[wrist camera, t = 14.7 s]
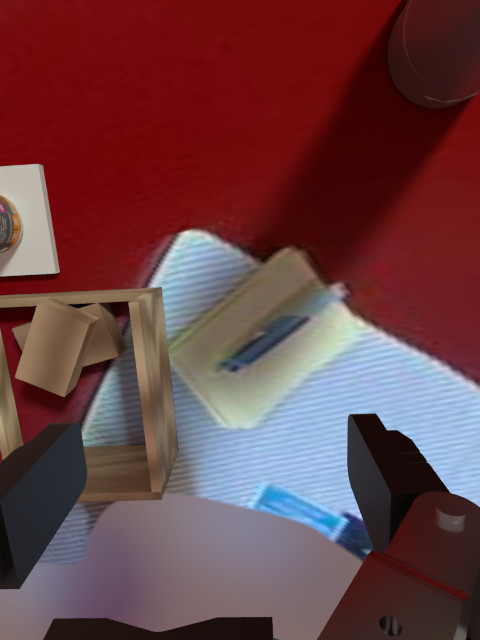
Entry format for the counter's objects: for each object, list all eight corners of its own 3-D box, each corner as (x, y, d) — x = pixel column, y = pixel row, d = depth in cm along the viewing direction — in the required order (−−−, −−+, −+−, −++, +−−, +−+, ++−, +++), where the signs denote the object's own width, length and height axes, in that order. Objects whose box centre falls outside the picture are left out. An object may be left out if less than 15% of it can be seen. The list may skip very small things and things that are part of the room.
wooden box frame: (-15, 296, 40) (-80, 313, 32) (161, 287, 39) (138, 302, 31) (18, 455, 44) (-33, 504, 36) (178, 450, 43) (161, 499, 35)
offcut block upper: (29, 367, 39) (14, 377, 37) (51, 298, 37) (37, 303, 35) (75, 386, 39) (64, 397, 37) (99, 318, 37) (88, 324, 35)
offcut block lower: (29, 321, 41) (12, 328, 38) (109, 297, 40) (98, 302, 37) (50, 369, 42) (34, 380, 39) (128, 347, 41) (118, 356, 38)
